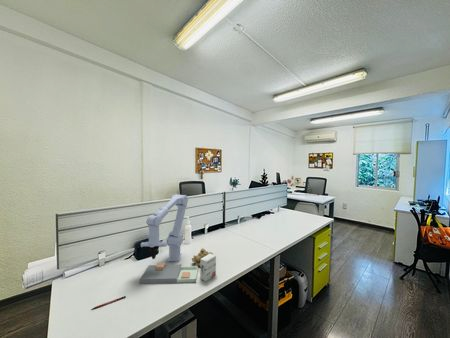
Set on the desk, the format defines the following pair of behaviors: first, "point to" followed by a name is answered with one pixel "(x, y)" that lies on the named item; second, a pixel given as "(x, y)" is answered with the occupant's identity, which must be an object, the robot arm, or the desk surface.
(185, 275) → the tile
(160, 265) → the tile
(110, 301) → the pencil
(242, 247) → the desk surface
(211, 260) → the ink box
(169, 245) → the robot arm
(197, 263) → the mineral formation
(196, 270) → the tray
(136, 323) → the desk surface
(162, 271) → the board
